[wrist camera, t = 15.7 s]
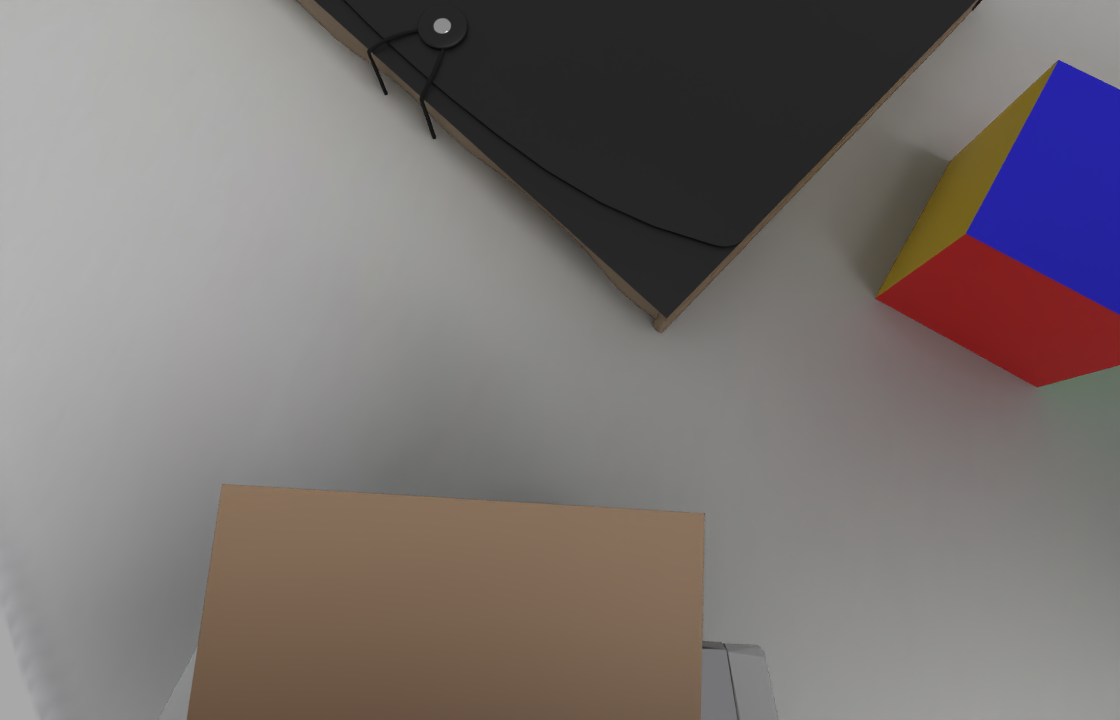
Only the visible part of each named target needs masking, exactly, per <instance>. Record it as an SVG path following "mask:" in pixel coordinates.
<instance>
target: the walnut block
mask: <svg viewBox="0 0 1120 720" xmlns="http://www.w3.org/2000/svg"><path fill="white" fill-rule="evenodd" d="M704 522H705V513H690V512H673V511H657V510H640V509H624V508H607V507H591V506H574V505H558V504H541V503H525V502H508V501H492V500H475V499H459V498H442V497H426V496H409V495H393V494H376V493H360V492H343V491H327V490H310V489H294V488H277V487H261V486H245V485H228V484H222V489H221V495H220V502H219V509H218V515H217V522H216V528H215V535H214V542H213V548H212V555H211V561H210V568H209V575H208V581H207V588H206V594H205V601H204V608H203V614H202V621H201V628H200V634H199V641H198V647H197V654H196V661H195V667H194V674H193V680H192V687H191V694H190V700H189V707H188V713H187V720H701V681H702V628H703V575H704Z"/></svg>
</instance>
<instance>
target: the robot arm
mask: <svg viewBox="0 0 1120 720" xmlns="http://www.w3.org/2000/svg"><path fill="white" fill-rule="evenodd" d="M197 647H198V646H197ZM196 654H197V648H196V650H195V652H194V653H193V655H192V657H191V659H190V661H189V663H188V665H187V666H186V668H185V670H184V672H183V674H182V676H181V678H180V679H179V681H178V683H177V685H176V687H175V689H174V690H173V692H172V694H171V696H170V698H169V700H168V702H167V703H166V705H165V707H164V709H163V711H162V713H161V714H160V716H159V718H158V720H187V713H188V707H189V700H190V694H191V687H192V680H193V674H194V667H195V661H196ZM701 720H779V719H778V714H777V709H776V705H775V700H774V695H773V690H772V686H771V681H770V676H769V672H768V667H767V662H766V658H765V653H764V652H763V650H762V649H761V647H760V646H759V645H749V644H726V643H722V642H713V641H702V681H701Z"/></svg>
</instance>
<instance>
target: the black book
mask: <svg viewBox="0 0 1120 720" xmlns="http://www.w3.org/2000/svg"><path fill="white" fill-rule="evenodd" d="M297 1H298V2H299V3H300V4H301V5H302V6H303V7H304V8H305V9H306V10H307V11H308V12H309V13H310V14H311V15H312V16H313V17H314V18H315V19H316V20H317V21H318V22H319V23H320V24H321V25H323V26H324V27H325V28H326V29H327V30H328V31H329V32H330V33H331V34H332V35H333V36H334V38H336V39H337V40H338V41H340V42H341V43H343V44H344V45H345V46H346V47H347V48H349V49H350V50H351V51H352V52H354V53H355V54H357V55H359V56H360V57H362V58H363V59H365V60H366V61H368V62H369V63H371V64H372V65H373V68H374V70H375V73H376V75H377V77H378V80H379V82H380V85H381V87H382V89H383V92H384V94H385V95H387V94H388V93H387V90H386V88H385V85H384V83H383V81H382V78H381V76H380V73H379V71H378V69H379V70H381V71H382V72H383V73H385V74H386V75H388V76H389V77H391V78H392V79H393V80H394V81H395V82H396V83H398V84H399V85H400V86H401V87H402V88H403V89H405V90H406V91H407V92H408V93H409V94H410V95H411V96H412V97H413V98H414V99H415V100H416V101H417V102H418V103H420V104H421V106H422V109H423V112H424V115H425V117H426V120H427V123H428V126H429V129H430V132H431V135H432V138H433V139H436V135H435V132H434V129H433V126H432V123H431V120H430V117H429V114H430V115H431V116H432V117H433V118H434V119H435V120H436V121H437V122H438V123H439V124H440V125H441V126H442V127H443V128H444V129H445V130H446V131H447V132H448V133H449V134H450V135H451V136H452V137H453V138H454V139H456V140H457V141H458V142H459V143H460V144H461V145H462V146H464V147H465V148H466V149H467V150H468V151H470V152H471V153H473V154H474V155H476V156H477V157H478V158H480V159H481V160H482V161H483V162H485V163H486V164H487V165H489V166H490V167H492V168H493V169H495V170H496V171H498V172H499V173H500V174H501V175H503V176H504V177H505V178H507V179H508V180H509V181H510V182H512V183H513V184H514V185H516V186H517V187H518V188H519V189H520V190H522V191H523V192H524V193H525V194H526V195H527V196H528V197H530V198H531V199H532V200H533V201H534V202H535V203H536V204H537V205H538V206H539V207H540V208H542V209H543V210H544V211H545V212H546V213H547V214H548V215H549V216H550V217H551V218H552V219H553V220H555V221H556V222H557V223H558V224H559V225H561V226H562V227H563V228H564V229H565V230H566V231H567V232H568V233H569V234H570V235H571V236H572V237H574V238H575V240H576V241H577V242H578V243H579V244H580V245H581V246H582V247H583V248H584V249H585V250H586V251H587V252H588V254H589V255H590V256H591V257H592V258H593V259H594V261H595V262H596V263H597V264H598V265H599V267H600V268H601V269H602V270H603V271H604V273H605V274H606V275H607V277H608V278H609V279H610V280H611V281H612V282H613V283H614V285H615V286H616V287H617V288H618V289H619V290H620V291H621V292H623V293H624V294H625V295H626V296H627V297H628V298H629V299H630V300H632V301H633V302H634V303H635V304H637V305H638V306H639V307H640V308H642V309H643V310H644V311H646V312H647V313H648V314H649V315H651V316H652V317H653V318H655V319H656V320H655V322H654V323H653V324H654V325H653V326H654V328H655V329H656V330H657V331H658V332H659V333H662V332H663V331H664V330H665V329H666V328H667V327H668V326H669V325H670V324H671V323H672V322H673V321H674V320H675V319H676V318H677V317H678V316H679V315H680V314H681V313H682V311H683V310H684V309H685V308H686V307H687V306H688V305H689V304H690V303H691V302H692V301H693V300H694V299H695V298H696V297H697V296H698V295H699V294H700V293H701V292H702V291H703V290H704V289H705V288H706V287H707V286H708V285H709V284H710V283H711V282H712V280H713V279H714V278H715V277H716V276H717V275H718V274H719V273H720V272H721V271H722V270H723V269H724V268H725V267H726V266H727V265H728V264H729V263H730V262H731V261H732V260H733V259H734V258H735V257H736V256H737V255H738V254H739V253H740V252H741V250H742V249H743V248H744V247H745V246H746V245H747V244H748V243H749V242H750V241H751V240H752V238H753V237H754V236H755V235H756V234H757V233H758V232H759V231H760V230H761V229H762V228H763V227H764V226H765V225H766V224H767V223H768V222H769V221H770V220H771V219H772V218H773V217H774V216H775V215H776V214H777V213H778V212H779V211H780V210H781V208H782V207H783V206H784V205H785V204H786V203H787V202H788V201H789V200H790V199H791V198H792V197H793V196H794V195H795V194H796V193H797V192H798V191H799V190H800V189H801V188H802V187H803V186H804V185H805V184H806V183H807V182H808V181H809V180H810V179H811V178H812V176H813V175H814V174H815V173H816V172H817V171H818V170H819V169H820V168H821V167H822V166H823V165H824V164H825V163H826V162H827V161H828V160H829V159H830V158H831V157H832V156H833V155H834V154H835V153H836V152H837V151H838V150H839V149H840V148H841V147H842V145H843V144H844V143H845V142H846V141H847V140H848V139H849V138H850V137H851V136H852V135H853V134H854V133H855V132H856V131H857V130H858V129H859V128H860V127H861V126H862V125H863V124H864V123H865V122H866V121H867V120H868V119H869V118H870V117H871V115H872V114H873V113H874V112H875V111H876V110H877V109H878V108H879V107H880V106H881V105H882V104H883V103H884V102H885V101H886V100H887V99H888V98H889V97H890V96H891V95H892V94H893V93H894V92H895V91H896V90H897V89H898V88H899V86H900V85H901V84H902V83H903V82H904V81H905V80H906V79H907V78H908V77H909V76H910V75H911V74H912V73H913V72H914V71H915V70H916V69H917V68H918V67H919V66H920V65H921V64H922V63H923V62H924V61H925V60H926V59H927V57H928V56H929V55H930V54H931V53H932V52H933V51H934V50H935V49H936V48H937V47H938V46H939V45H940V44H941V43H942V42H943V41H944V40H945V39H946V38H947V37H948V36H949V35H950V34H951V33H952V32H953V30H954V29H955V28H956V27H957V26H958V25H959V24H960V23H961V22H962V21H963V20H964V19H965V17H966V16H967V15H968V14H969V13H970V12H971V11H973V10H974V9H975V8H976V7H977V5H978V4H979V3H980V2H981V1H982V0H297ZM377 68H378V69H377ZM428 112H429V114H428Z"/></svg>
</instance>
